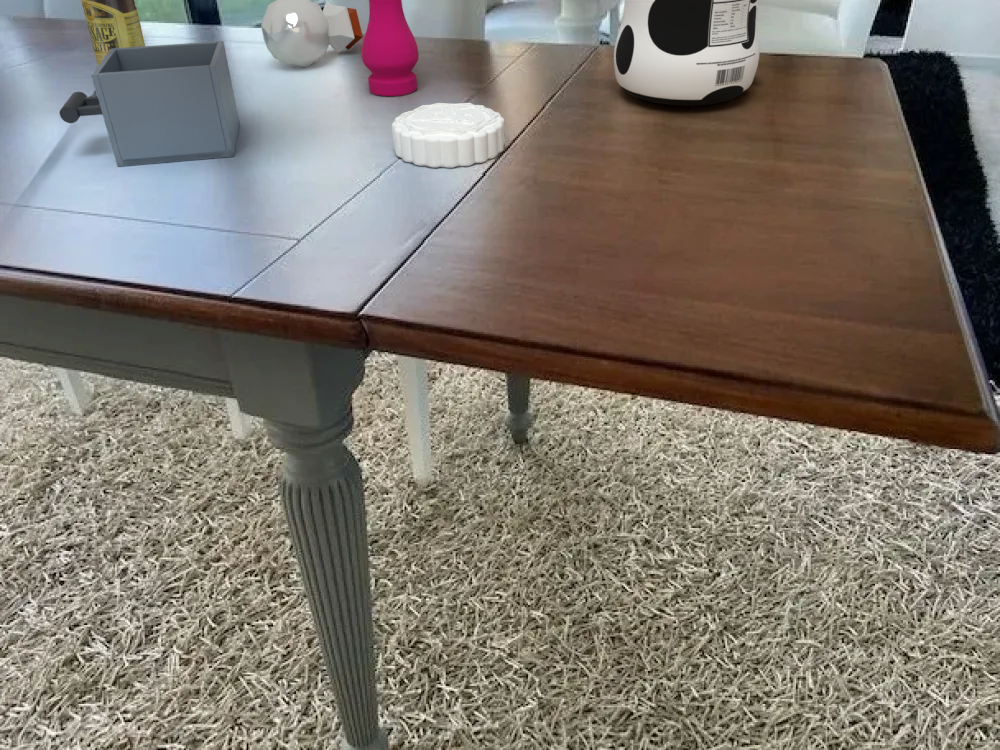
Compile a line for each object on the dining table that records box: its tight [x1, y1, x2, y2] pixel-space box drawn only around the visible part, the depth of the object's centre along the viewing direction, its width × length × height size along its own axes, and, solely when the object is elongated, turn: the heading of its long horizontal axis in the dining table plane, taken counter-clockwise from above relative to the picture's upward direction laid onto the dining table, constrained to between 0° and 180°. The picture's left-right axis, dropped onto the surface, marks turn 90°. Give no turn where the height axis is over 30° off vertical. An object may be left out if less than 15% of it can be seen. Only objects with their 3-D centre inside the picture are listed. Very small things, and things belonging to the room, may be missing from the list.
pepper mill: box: [361, 0, 420, 97], centre depth 106 cm, size 7×7×20 cm
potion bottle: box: [260, 0, 364, 68], centre depth 122 cm, size 9×10×15 cm
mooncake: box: [391, 102, 506, 169], centre depth 91 cm, size 12×12×4 cm
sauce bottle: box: [80, 0, 146, 67], centre depth 107 cm, size 7×6×20 cm
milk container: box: [613, 0, 761, 107], centre depth 101 cm, size 17×17×18 cm
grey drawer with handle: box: [59, 40, 241, 168], centre depth 92 cm, size 17×11×10 cm, turn 101°
